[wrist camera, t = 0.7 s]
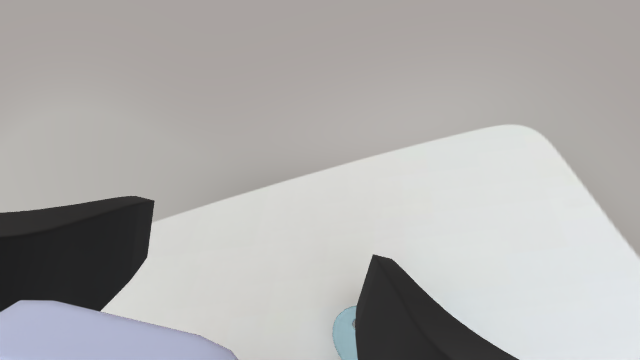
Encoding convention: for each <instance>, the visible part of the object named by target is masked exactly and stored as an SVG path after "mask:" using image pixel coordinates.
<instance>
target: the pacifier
mask: <svg viewBox="0 0 640 360" xmlns="http://www.w3.org/2000/svg"><path fill="white" fill-rule="evenodd" d="M356 307H357V306H353V307H350V308H347V309H345V310H344V311H343V312H341V313H340V314H339V315H338V317H337V318H336V320H335V322H334V326H333V341H334V344H335V347H336V350H337V352H338V354H339V356H340V357H341V359H342V360H358V358H357V348H356V338H355V329H354V327H353V322H354V320H356Z"/></svg>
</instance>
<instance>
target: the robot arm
mask: <svg viewBox="0 0 640 360" xmlns="http://www.w3.org/2000/svg"><path fill="white" fill-rule="evenodd" d="M153 208H154V200H150V199H145V198H141V197H137V196H126V197H118V198H111V199H105V200H99V201H93V202H87V203H81V204H75V205H68V206H61V207H54V208H47V209H40V210H31V211H20V212H7V213H0V360H238V359H237V357H236V356H235V355H234V354H233V352H232V351H231V350H229V349H227V348H225V347H223V346H221V345H219V344H216V343H214V342H212V341H210V340H208V339H206V338H204V337H202V336H200V335H196V334H192V333H187V332H183V331H179V330H175V329H171V328H166V327H162V326H158V325H154V324H150V323H146V322H141V321H137V320H133V319H129V318H125V317H120V316H116V315H112V314H108V313H104V312H100V311H101V310H102V309H103V308H104V307H105V306H106V305H107V304H108V303H109V302H110V301H111V300H112V299H113V298H114V297H115V296H116V295H117V294H118V293H119V292H120V291H121V290H122V288H123V287H124V286H125V285H126V284H127V283H128V282H129V281H130V280H131V279H132V277H133V276H134V275H135V273H136V272H137V271H138V269H139V268H140V267H141V265H142V264H143V262H144V261H145V260H146V258H147V254H148V247H149V239H150V231H151V223H152V216H153ZM355 338H356V348H357V358H358V360H519V359H517V358H515V357H513V356H512V355H510V354H508V353H506V352H504V351H503V350H501V349H499V348H498V347H496V346H495V345H493V344H491V343H490V342H488V341H487V340H485V339H483V338H482V337H480V336H479V335H477V334H476V333H475V332H473V331H472V330H470V329H469V328H468V327H466V326H465V325H464V324H462V323H461V322H460V321H458V320H457V319H456V318H454V317H453V316H452V315H450V314H449V313H448V312H447V311H446V310H444V309H443V308H442V307H441V306H440V305H439V304H438V303H437V302H435V301H434V300H433V299H432V298H431V297H430V296H429V295H428V294H427V293H426V292H425V291H424V290H423V289H422V288H421V287H420V286H419V285H418V284H417V283H416V282H415V281H414V280H413V279H412V278H411V277H410V276H409V275H408V274H407V273H406V272H405V271H404V270H403V269H402V268H401V267H400V266H399V265H398V264H397V263H396V262H395V261H393V260H392V259H390V258H385V257H381V256H377V255H373V256H372V259H371V262H370V265H369V268H368V272H367V275H366V278H365V281H364V284H363V288H362V291H361V294H360V297H359V300H358V303H357V307H356V322H355Z"/></svg>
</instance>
